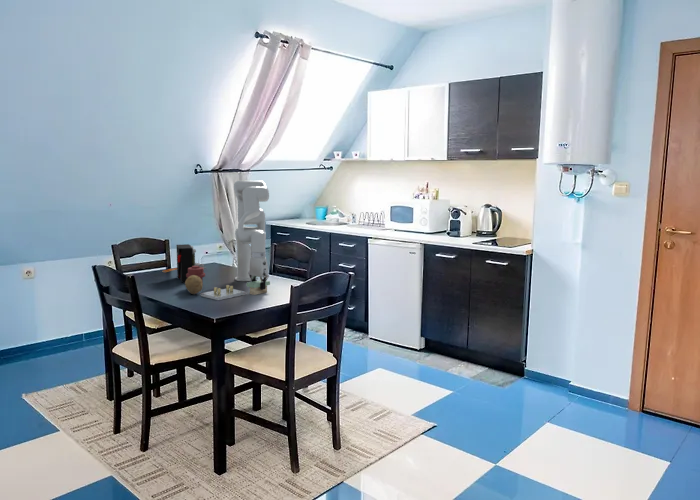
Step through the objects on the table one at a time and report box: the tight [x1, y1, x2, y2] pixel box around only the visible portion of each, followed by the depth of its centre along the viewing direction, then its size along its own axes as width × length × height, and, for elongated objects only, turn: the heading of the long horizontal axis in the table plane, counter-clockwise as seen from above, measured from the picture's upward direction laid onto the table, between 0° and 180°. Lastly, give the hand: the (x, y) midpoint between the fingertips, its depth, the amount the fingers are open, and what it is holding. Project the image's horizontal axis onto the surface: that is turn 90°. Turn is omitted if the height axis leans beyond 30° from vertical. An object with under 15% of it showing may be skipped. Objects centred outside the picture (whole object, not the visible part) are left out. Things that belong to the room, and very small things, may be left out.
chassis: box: [200, 284, 247, 301], centre depth 283 cm, size 18×14×4 cm
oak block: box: [249, 285, 268, 296], centre depth 290 cm, size 9×4×4 cm, turn 141°
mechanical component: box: [186, 266, 206, 286], centre depth 299 cm, size 12×10×10 cm
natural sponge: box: [184, 275, 204, 295], centre depth 285 cm, size 9×9×10 cm
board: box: [246, 279, 271, 288], centre depth 290 cm, size 11×6×2 cm, turn 141°
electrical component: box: [175, 243, 197, 284], centre depth 322 cm, size 18×10×20 cm, turn 22°
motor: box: [163, 262, 208, 273], centre depth 350 cm, size 23×22×5 cm
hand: (258, 288), depth 290 cm, fingers open, 6 cm apart
